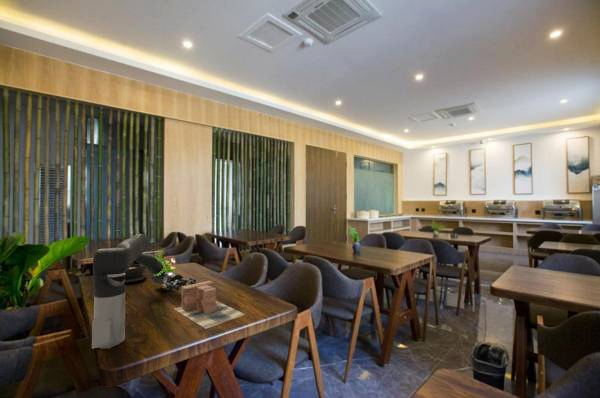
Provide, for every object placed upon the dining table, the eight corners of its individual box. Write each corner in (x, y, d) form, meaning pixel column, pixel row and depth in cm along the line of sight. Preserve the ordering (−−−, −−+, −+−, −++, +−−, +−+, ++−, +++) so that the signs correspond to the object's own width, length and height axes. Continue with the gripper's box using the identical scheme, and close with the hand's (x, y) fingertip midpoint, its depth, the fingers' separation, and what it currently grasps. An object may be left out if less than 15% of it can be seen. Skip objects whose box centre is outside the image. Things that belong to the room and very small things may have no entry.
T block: (181, 308, 129) (181, 286, 129) (209, 300, 139) (209, 280, 139) (195, 317, 120) (196, 293, 120) (224, 308, 130) (224, 286, 130)
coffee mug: (115, 296, 147) (116, 277, 147) (102, 295, 149) (102, 276, 149) (133, 289, 158) (133, 272, 158) (120, 288, 160) (120, 271, 160)
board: (173, 310, 129) (173, 308, 129) (211, 300, 143) (211, 298, 143) (205, 330, 109) (205, 328, 109) (245, 316, 123) (245, 314, 123)
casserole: (108, 278, 181) (108, 265, 181) (140, 273, 194) (140, 261, 194) (115, 287, 163) (116, 272, 163) (151, 281, 175) (151, 267, 175)
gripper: (159, 275, 147) (173, 282, 135) (186, 270, 157) (200, 276, 146) (159, 290, 146) (172, 297, 135) (186, 284, 157) (200, 291, 146)
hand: (187, 286), depth 141 cm, fingers open, 8 cm apart
